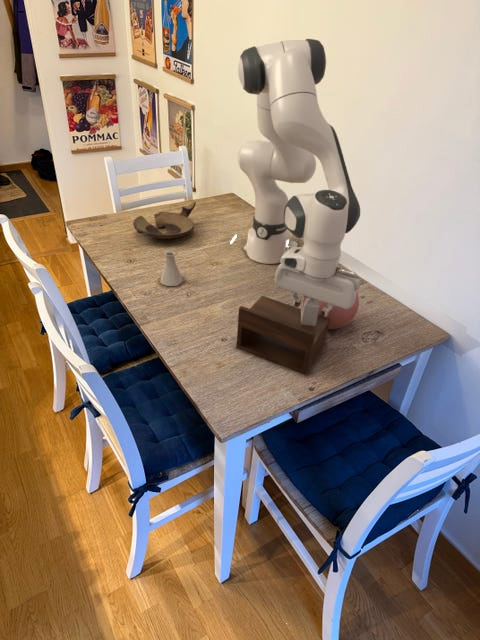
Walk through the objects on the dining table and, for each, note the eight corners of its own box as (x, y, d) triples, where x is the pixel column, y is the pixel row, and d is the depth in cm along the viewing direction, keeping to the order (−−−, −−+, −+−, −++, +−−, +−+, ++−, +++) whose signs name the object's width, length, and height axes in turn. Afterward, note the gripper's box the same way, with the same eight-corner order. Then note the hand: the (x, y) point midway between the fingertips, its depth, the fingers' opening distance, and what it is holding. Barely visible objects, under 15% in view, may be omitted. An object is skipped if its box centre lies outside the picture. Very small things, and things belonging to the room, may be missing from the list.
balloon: (320, 296, 140) (329, 253, 130) (363, 331, 126) (376, 285, 117) (280, 307, 133) (287, 263, 124) (321, 346, 119) (331, 299, 110)
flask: (178, 288, 138) (177, 260, 132) (156, 285, 139) (155, 257, 133) (185, 277, 144) (184, 250, 138) (164, 273, 145) (163, 246, 139)
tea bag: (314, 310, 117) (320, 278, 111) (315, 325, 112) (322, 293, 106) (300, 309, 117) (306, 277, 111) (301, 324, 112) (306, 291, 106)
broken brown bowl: (122, 229, 170) (120, 211, 165) (189, 215, 185) (189, 197, 180) (148, 253, 156) (147, 233, 151) (218, 235, 170) (219, 217, 166)
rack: (259, 321, 127) (263, 283, 119) (324, 345, 120) (333, 306, 112) (236, 347, 117) (238, 308, 109) (305, 375, 110) (313, 334, 102)
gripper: (366, 269, 101) (353, 317, 109) (285, 245, 108) (279, 292, 116) (358, 281, 96) (346, 330, 105) (274, 255, 104) (269, 303, 112)
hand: (310, 310), depth 111 cm, fingers open, 6 cm apart
